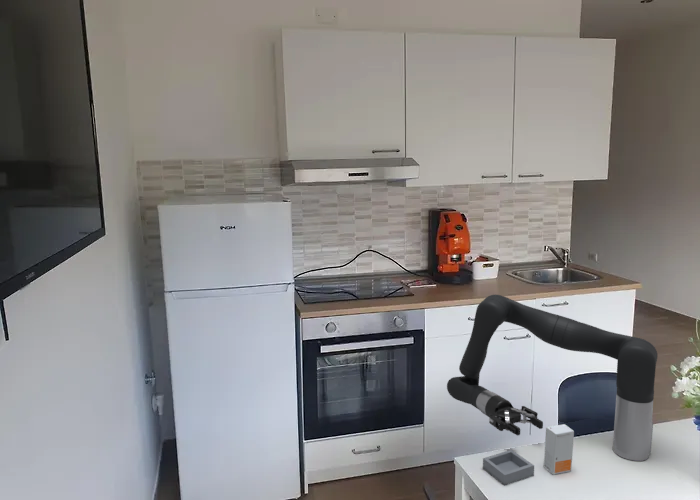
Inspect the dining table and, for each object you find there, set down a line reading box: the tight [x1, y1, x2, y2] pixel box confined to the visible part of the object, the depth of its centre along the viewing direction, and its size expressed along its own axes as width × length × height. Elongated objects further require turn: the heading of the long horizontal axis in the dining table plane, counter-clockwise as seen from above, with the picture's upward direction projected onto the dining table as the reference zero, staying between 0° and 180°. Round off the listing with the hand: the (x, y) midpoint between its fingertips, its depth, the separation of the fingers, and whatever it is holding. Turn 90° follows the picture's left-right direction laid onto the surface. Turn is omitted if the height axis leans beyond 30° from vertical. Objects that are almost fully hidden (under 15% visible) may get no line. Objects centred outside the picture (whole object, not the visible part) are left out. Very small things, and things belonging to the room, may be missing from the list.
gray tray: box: [482, 449, 535, 486], centre depth 143 cm, size 10×9×3 cm
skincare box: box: [543, 423, 575, 475], centre depth 143 cm, size 6×4×12 cm
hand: (530, 429), depth 152 cm, fingers open, 8 cm apart
